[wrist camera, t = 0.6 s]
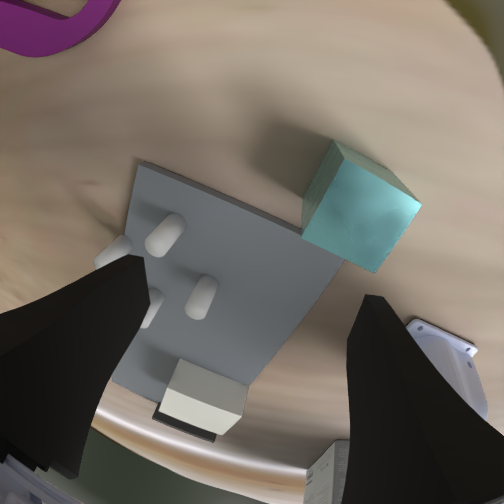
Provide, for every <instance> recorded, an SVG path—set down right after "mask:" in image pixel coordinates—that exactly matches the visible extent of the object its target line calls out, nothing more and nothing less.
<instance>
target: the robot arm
mask: <svg viewBox="0 0 504 504" xmlns="http://www.w3.org/2000/svg"><path fill="white" fill-rule="evenodd" d="M150 304H151V302H150V296H149V290H148V284H147V277H146V270H145V263H144V257H142V256H136V255H131V254H127V255H125V256H123V257H120V258H118V259H116V260H114V261H112V262H110V263H108V264H106V265H105V266H103V267H101V268H99V269H97V270H95V271H93V272H92V273H90V274H88V275H86V276H84V277H82V278H80V279H79V280H77V281H75V282H73V283H71V284H69V285H67V286H65V287H63V288H61V289H59V290H57V291H55V292H53V293H51V294H49V295H47V296H45V297H43V298H41V299H38V300H36V301H34V302H31V303H29V304H27V305H24V306H22V307H19V308H16V309H13V310H10V311H7V312H4V313H1V314H0V504H42V501H44V502H45V503H46V504H84V503H82V502H80V501H79V500H77V499H75V498H73V497H71V496H70V495H68V494H66V493H65V492H63V491H61V490H60V489H58V488H57V487H55V486H54V485H52V484H50V483H49V482H47V481H46V480H44V479H43V478H42V477H40V476H39V475H37V474H36V473H34V471H35V469H36V467H37V466H38V467H39V468H40V469H42V470H43V471H45V472H47V471H48V469H49V467H50V468H52V469H53V470H55V471H56V472H58V473H60V474H61V475H63V476H65V477H66V478H68V479H74V478H77V477H78V475H79V469H80V463H81V459H82V454H83V449H84V446H85V443H86V439H87V436H88V432H89V429H90V426H91V423H92V420H93V417H94V414H95V412H96V409H97V406H98V404H99V401H100V399H101V396H102V394H103V392H104V389H105V387H106V385H107V383H108V381H109V379H110V377H111V375H112V374H113V372H114V370H115V368H116V367H117V365H118V363H119V362H120V360H121V358H122V357H123V355H124V354H125V352H126V350H127V349H128V347H129V345H130V344H131V342H132V340H133V339H134V337H135V335H136V334H137V332H138V330H139V329H140V327H141V325H142V323H143V320H144V318H145V316H146V314H147V311H148V309H149V307H150ZM420 326H421V327H420ZM477 350H478V348H477V346H475V345H473V344H471V343H469V342H467V341H465V340H463V339H460V338H458V337H456V336H454V335H452V334H450V333H448V332H445V331H443V330H441V329H439V328H437V327H435V326H433V325H430V324H428V323H426V322H424V321H422V320H420V319H414V320H412V321H411V322H410V323H409V324H408V325H407V326H406V327H405V326H404V324H403V323H402V322H401V320H400V319H399V317H398V316H397V315H396V313H395V312H394V310H393V309H392V308H391V306H390V305H389V304H388V302H387V301H386V300H385V298H384V297H381V296H374V295H367V294H365V297H364V299H363V302H362V305H361V307H360V310H359V312H358V315H357V317H356V320H355V322H354V325H353V327H352V330H351V332H350V334H349V337H348V339H347V362H346V369H347V382H348V396H349V412H350V445H349V456H348V465H347V472H346V479H345V486H344V491H343V496H342V501H341V504H504V436H503V435H502V434H501V433H500V432H498V431H497V430H496V429H495V428H493V427H492V426H491V425H490V424H489V423H488V422H486V420H487V416H488V403H487V400H486V396H485V393H484V390H483V387H482V384H481V381H480V378H479V375H478V373H477V370H476V367H475V364H474V362H473V359H472V356H473V355H474V354H475V353H476V352H477ZM41 500H42V501H41Z"/></svg>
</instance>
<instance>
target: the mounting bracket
mask: <svg viewBox="0 0 504 504" xmlns="http://www.w3.org/2000/svg"><path fill="white" fill-rule="evenodd" d="M120 1H121V0H88V2H87V4H86V6H85V7H84V8H83V9H82V10H81V11H80V12H79V13H78V14H76V15H75V16H73V17H71V18H69V17H66V16H63V15H61V14H58V13H55V12H53V11H50V10H47V9H44V8H41V7H38V6H35V5H32V4H29V3H26V2H23V1H19V0H0V48H3V49H5V50H8V51H11V52H13V53H16V54H19V55H22V56H26V57H43V56H49V55H52V54H55V53H58V52H61V51H63V50H65V49H68V48H70V47H73V46H75V45H77V44H79V43H81V42H83V41H84V40H86V39H88V38H89V37H91V36H92V35H93V34H94V33H96V32H97V31H98V30H99V29H100V28H101V27H102V26H103V25H104V24H105V23H106V21H107V20H108V19H109V18H110V16H111V15H112V14H113V12H114V11H115V9H116V8H117V6H118V4H119V3H120Z"/></svg>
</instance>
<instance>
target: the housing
mask: <svg viewBox="0 0 504 504" xmlns="http://www.w3.org/2000/svg"><path fill="white" fill-rule="evenodd" d="M248 389H249V386H248V385H245V384H243V383H240V382H237V381H234V380H232V379H229V378H227V377H224V376H221V375H219V374H216V373H214V372H211V371H209V370H206V369H204V368H202V367H199V366H197V365H194V364H192V363H190V362H187V361H185V360H183V359H181V358H180V359H179V362H178V364H177V366H176V368H175V371H174V373H173V375H172V378H171V380H170V382H169V385H168V387H167V389H166V392H165V395H164V398H163V400H162V403H161V406H160V409H159V411H160V412H162V413H164V414H167V415H169V416H171V417H174V418H176V419H179V420H181V421H184V422H186V423H189V424H191V425H194V426H197V427H199V428H202V429H205V430H208V431H210V432H213V433H216V434H219V435H223V434H224V433H225V432H226V431H227V430H228V429H230V428H231V427H232V426H233V425H234V424H235V423H236V422H237V421H238V420H239V419H240V418H241V417H242V415H243V411H244V407H245V402H246V398H247V393H248Z"/></svg>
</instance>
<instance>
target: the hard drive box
mask: <svg viewBox="0 0 504 504" xmlns="http://www.w3.org/2000/svg"><path fill="white" fill-rule="evenodd" d="M349 445H350V440H336V441H335V442H334V443H333V444H332V445H331V446H330V447H329V448H328V449H327V450H326V452H325V453H324V454H323V455H322V456H321V457H320V458H319V459H318V460H317V461H316V462H315V463H314V464H313V465H312V466H311V467H310V468H309V469H308V470H307V473H306V482H305V493H304V503H303V504H341V501H342V496H343V491H344V486H345V479H346V472H347V465H348V456H349Z"/></svg>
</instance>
